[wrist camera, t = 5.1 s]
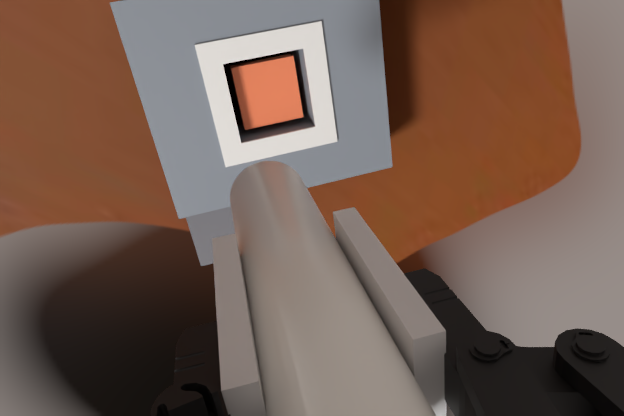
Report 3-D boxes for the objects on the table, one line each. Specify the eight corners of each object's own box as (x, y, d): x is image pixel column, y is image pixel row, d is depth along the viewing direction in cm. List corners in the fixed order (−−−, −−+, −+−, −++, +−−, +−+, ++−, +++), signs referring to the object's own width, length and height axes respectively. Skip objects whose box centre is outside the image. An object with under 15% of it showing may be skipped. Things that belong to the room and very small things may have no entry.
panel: (179, 194, 36) (178, 220, 32) (119, 1, 30) (109, 2, 26) (371, 149, 39) (393, 168, 35) (352, -38, 33) (376, -43, 28)
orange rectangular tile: (243, 125, 33) (245, 129, 32) (229, 65, 31) (231, 68, 30) (299, 113, 34) (303, 117, 33) (289, 53, 32) (293, 55, 31)
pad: (201, 263, 39) (201, 266, 39) (181, 200, 37) (181, 202, 36) (270, 245, 40) (270, 248, 40) (255, 182, 38) (256, 184, 37)
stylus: (237, 239, 21) (356, 966, 5) (221, 168, 20) (319, 894, 4) (311, 222, 22) (621, 842, 6) (300, 152, 20) (683, 733, 4)
